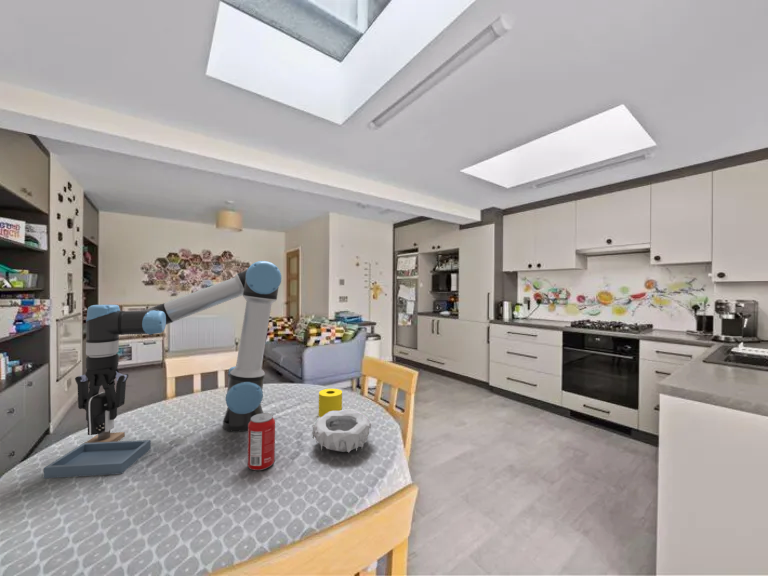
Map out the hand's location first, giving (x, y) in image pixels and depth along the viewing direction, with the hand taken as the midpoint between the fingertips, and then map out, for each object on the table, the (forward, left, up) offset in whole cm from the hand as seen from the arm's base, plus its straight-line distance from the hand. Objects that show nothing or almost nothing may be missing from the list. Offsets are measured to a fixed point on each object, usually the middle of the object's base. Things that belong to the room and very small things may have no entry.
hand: (101, 430), depth 97 cm
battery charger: (0, 0, -1) cm, 1 cm away
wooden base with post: (+8, -13, -10) cm, 18 cm away
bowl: (-74, -2, -10) cm, 75 cm away
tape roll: (-69, -30, -10) cm, 76 cm away
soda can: (-49, +7, -10) cm, 51 cm away
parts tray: (0, 0, -10) cm, 10 cm away
